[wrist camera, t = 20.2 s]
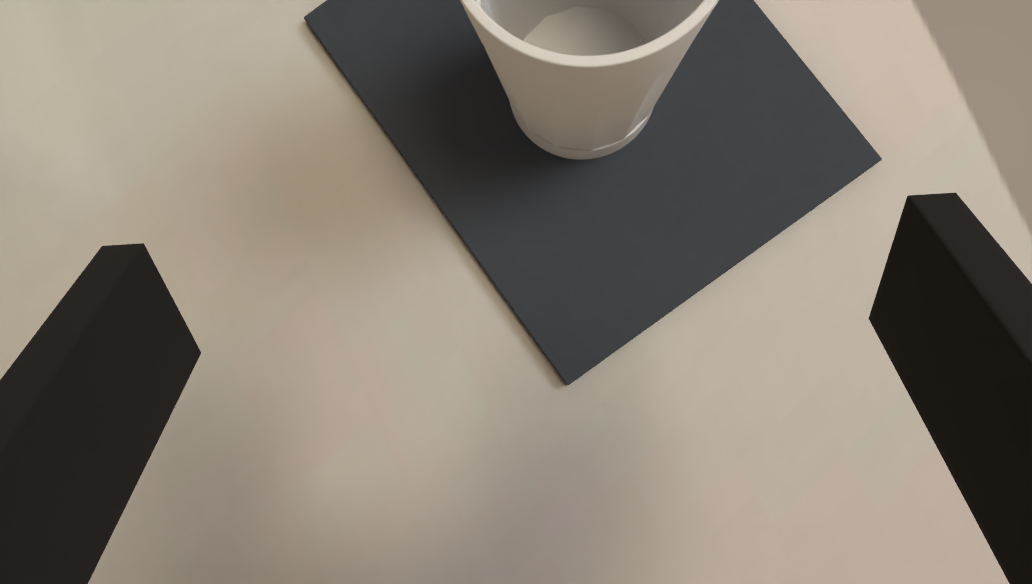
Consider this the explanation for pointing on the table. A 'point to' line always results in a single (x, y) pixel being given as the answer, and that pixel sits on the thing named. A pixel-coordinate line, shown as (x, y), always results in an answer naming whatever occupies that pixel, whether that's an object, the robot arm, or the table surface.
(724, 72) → the mat
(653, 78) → the cup
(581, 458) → the table surface
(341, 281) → the table surface
